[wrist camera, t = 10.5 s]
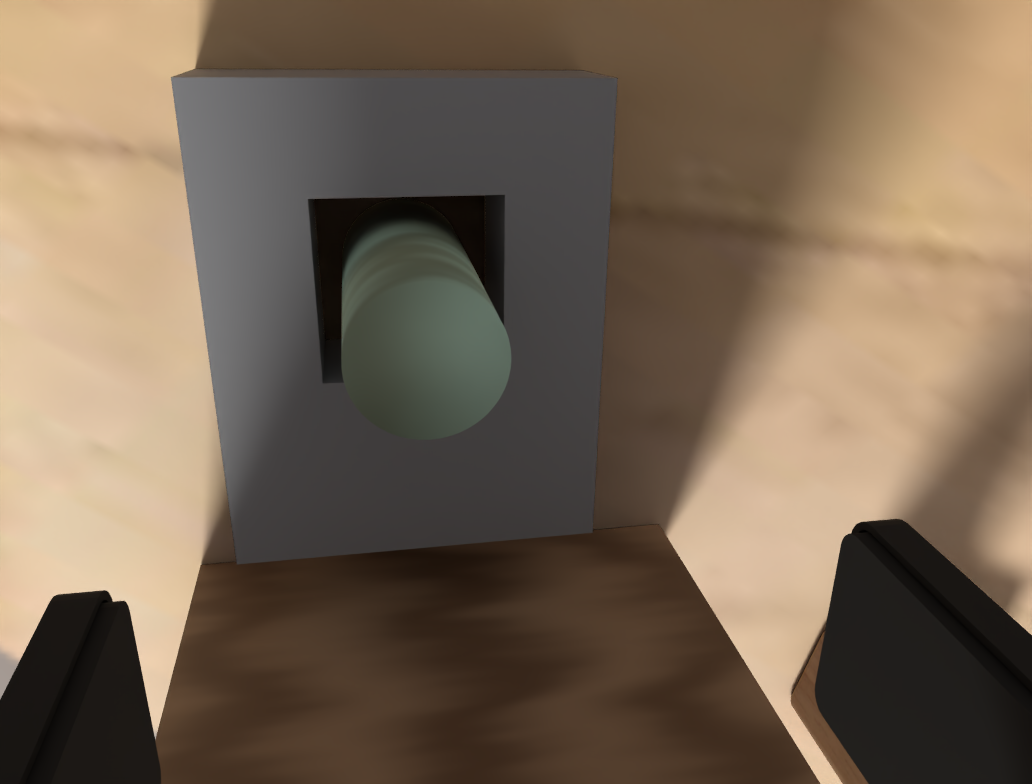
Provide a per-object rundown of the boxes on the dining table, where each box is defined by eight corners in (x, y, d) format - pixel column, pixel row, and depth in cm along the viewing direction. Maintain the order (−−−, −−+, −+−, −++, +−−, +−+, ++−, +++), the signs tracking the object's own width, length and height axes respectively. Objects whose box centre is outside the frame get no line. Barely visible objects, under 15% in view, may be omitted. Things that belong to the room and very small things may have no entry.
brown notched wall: (668, 413, 34) (1042, 868, 16) (656, 555, 36) (964, 1086, 18) (182, 445, 31) (-47, 1056, 13) (205, 598, 33) (43, 1286, 15)
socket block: (582, 70, 28) (617, 77, 25) (566, 478, 34) (592, 532, 31) (194, 68, 26) (170, 77, 23) (248, 502, 32) (236, 564, 28)
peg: (460, 197, 29) (512, 278, 20) (461, 311, 31) (510, 434, 22) (338, 199, 28) (335, 284, 19) (345, 316, 30) (347, 445, 21)
